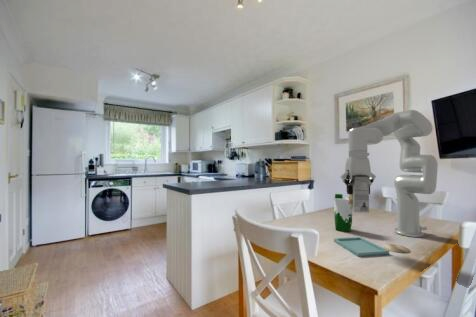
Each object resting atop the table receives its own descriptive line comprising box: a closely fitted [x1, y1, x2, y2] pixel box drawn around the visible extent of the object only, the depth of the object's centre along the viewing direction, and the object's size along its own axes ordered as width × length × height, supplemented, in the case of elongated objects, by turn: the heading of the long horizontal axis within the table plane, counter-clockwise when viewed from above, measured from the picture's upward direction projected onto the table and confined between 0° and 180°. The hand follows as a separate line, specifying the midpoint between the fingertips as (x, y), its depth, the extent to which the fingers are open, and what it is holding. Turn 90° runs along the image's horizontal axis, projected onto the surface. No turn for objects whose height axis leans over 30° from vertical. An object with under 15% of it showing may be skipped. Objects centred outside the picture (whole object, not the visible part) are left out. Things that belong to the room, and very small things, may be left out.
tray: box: [333, 236, 390, 258], centre depth 102 cm, size 14×18×2 cm
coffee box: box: [348, 175, 370, 213], centre depth 102 cm, size 9×6×16 cm
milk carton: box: [333, 193, 353, 233], centre depth 129 cm, size 9×9×20 cm
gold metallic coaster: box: [383, 243, 410, 254], centre depth 100 cm, size 9×9×1 cm
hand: (358, 193), depth 101 cm, fingers closed on coffee box, 7 cm apart
